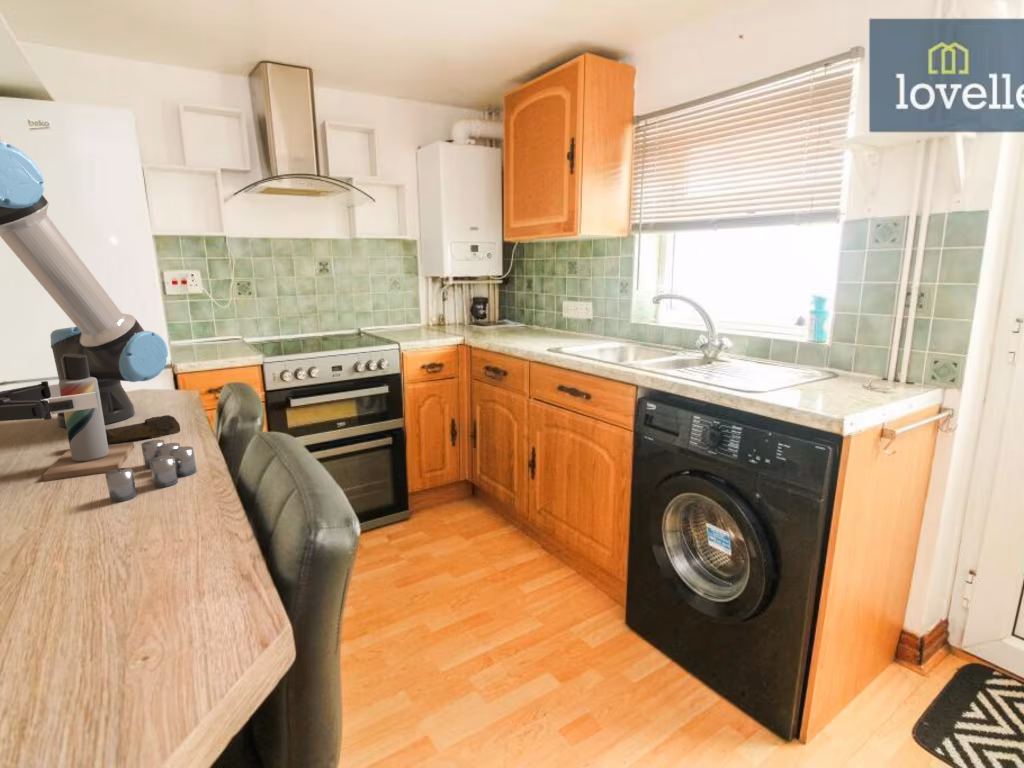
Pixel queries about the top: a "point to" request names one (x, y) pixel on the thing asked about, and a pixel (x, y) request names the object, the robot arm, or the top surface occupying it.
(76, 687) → the top surface
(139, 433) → the hand tool
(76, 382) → the lotion bottle
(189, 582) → the top surface
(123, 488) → the steel spacers
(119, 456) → the brown wooden flat board
